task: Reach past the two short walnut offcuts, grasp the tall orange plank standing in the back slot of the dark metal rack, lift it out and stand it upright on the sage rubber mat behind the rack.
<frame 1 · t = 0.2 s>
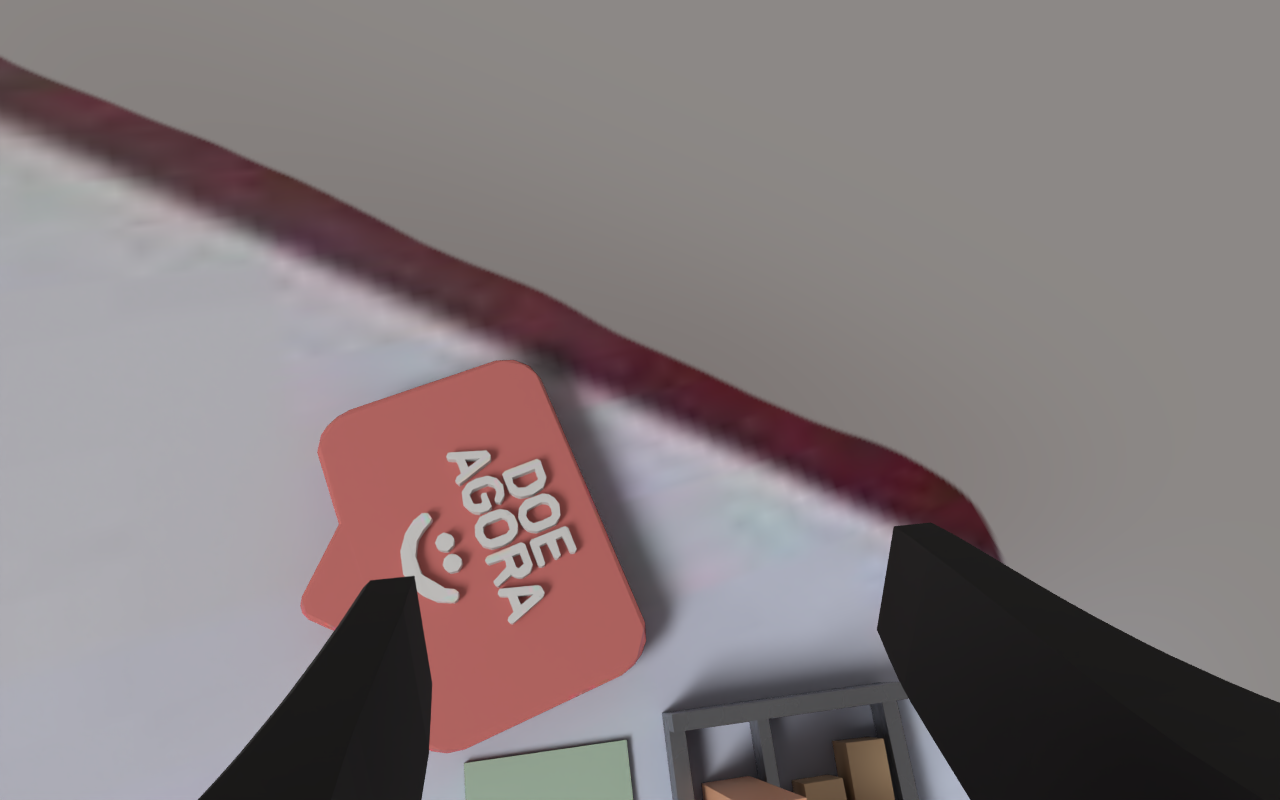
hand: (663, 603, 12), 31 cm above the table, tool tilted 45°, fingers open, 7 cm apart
plaque: (459, 559, 42), on the table
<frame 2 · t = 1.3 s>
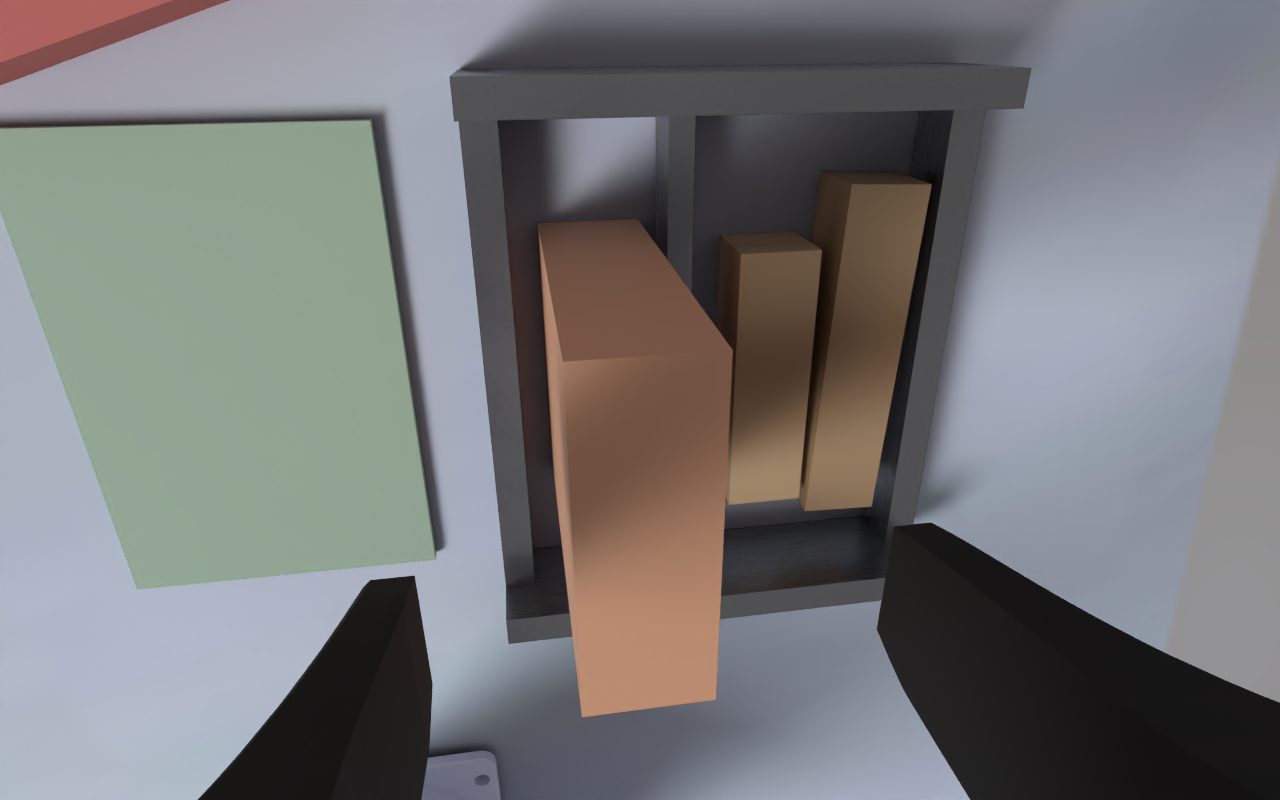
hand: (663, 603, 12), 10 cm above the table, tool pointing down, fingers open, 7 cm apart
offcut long: (830, 332, 22), resting in rack
rack: (709, 344, 21), on the table
offcut short: (747, 354, 22), resting in rack
tall orange plank: (592, 351, 21), resting in rack
mat: (244, 375, 19), on the table
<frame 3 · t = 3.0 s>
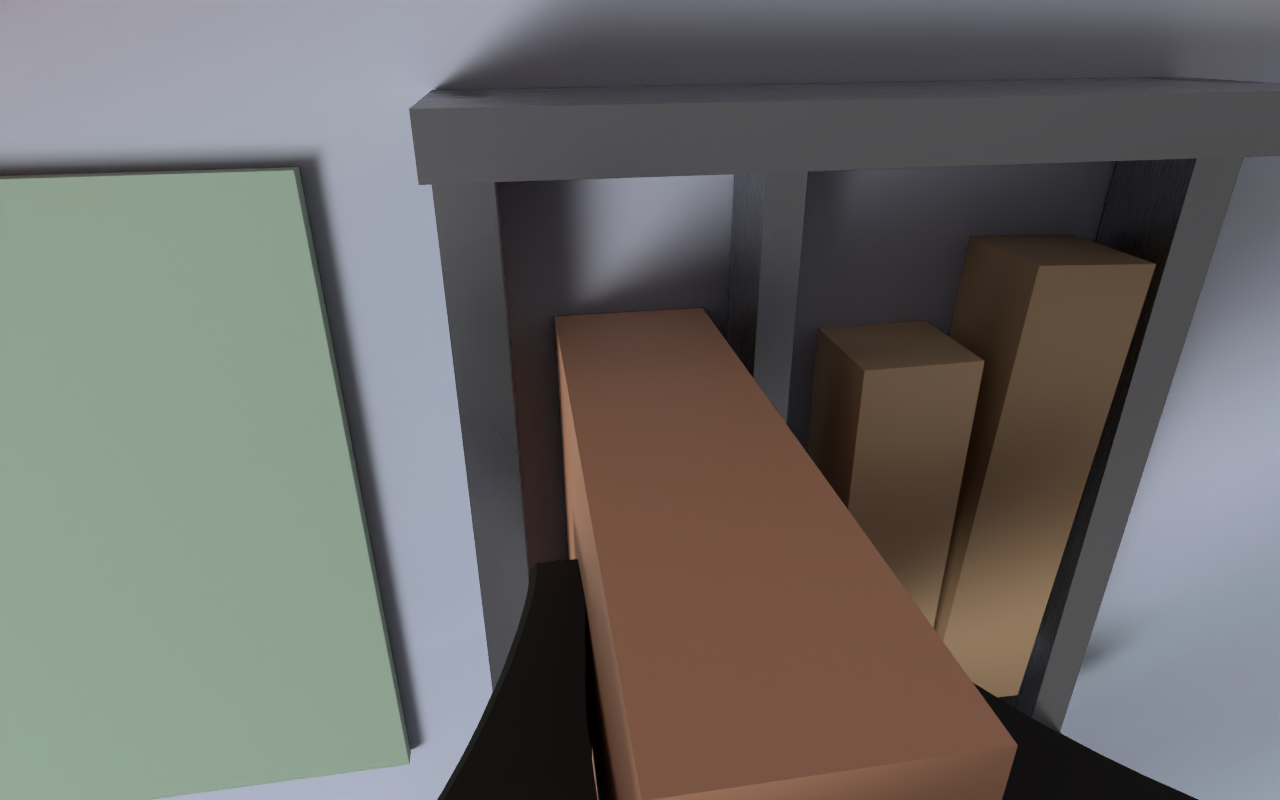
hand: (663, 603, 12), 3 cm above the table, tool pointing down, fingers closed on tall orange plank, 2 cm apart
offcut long: (960, 452, 16), resting in rack
rack: (796, 475, 15), on the table
offcut short: (846, 483, 15), resting in rack
tall orange plank: (631, 489, 14), resting in rack, touching gripper
mat: (122, 537, 13), on the table
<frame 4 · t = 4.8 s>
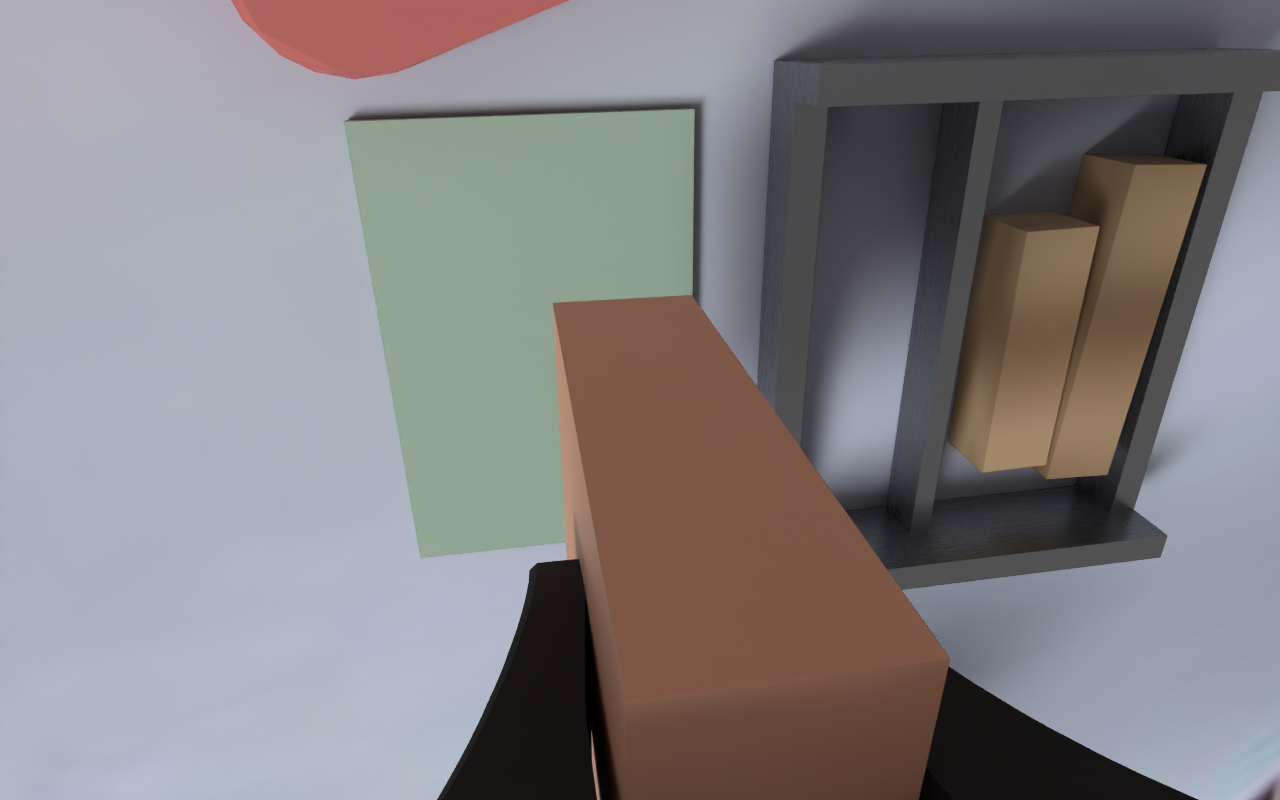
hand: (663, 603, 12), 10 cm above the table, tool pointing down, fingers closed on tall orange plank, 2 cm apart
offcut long: (1067, 309, 23), resting in rack
rack: (961, 320, 22), on the table
offcut short: (990, 329, 23), resting in rack
tall orange plank: (625, 468, 15), point 6 cm above the table, touching gripper
mat: (543, 352, 21), on the table
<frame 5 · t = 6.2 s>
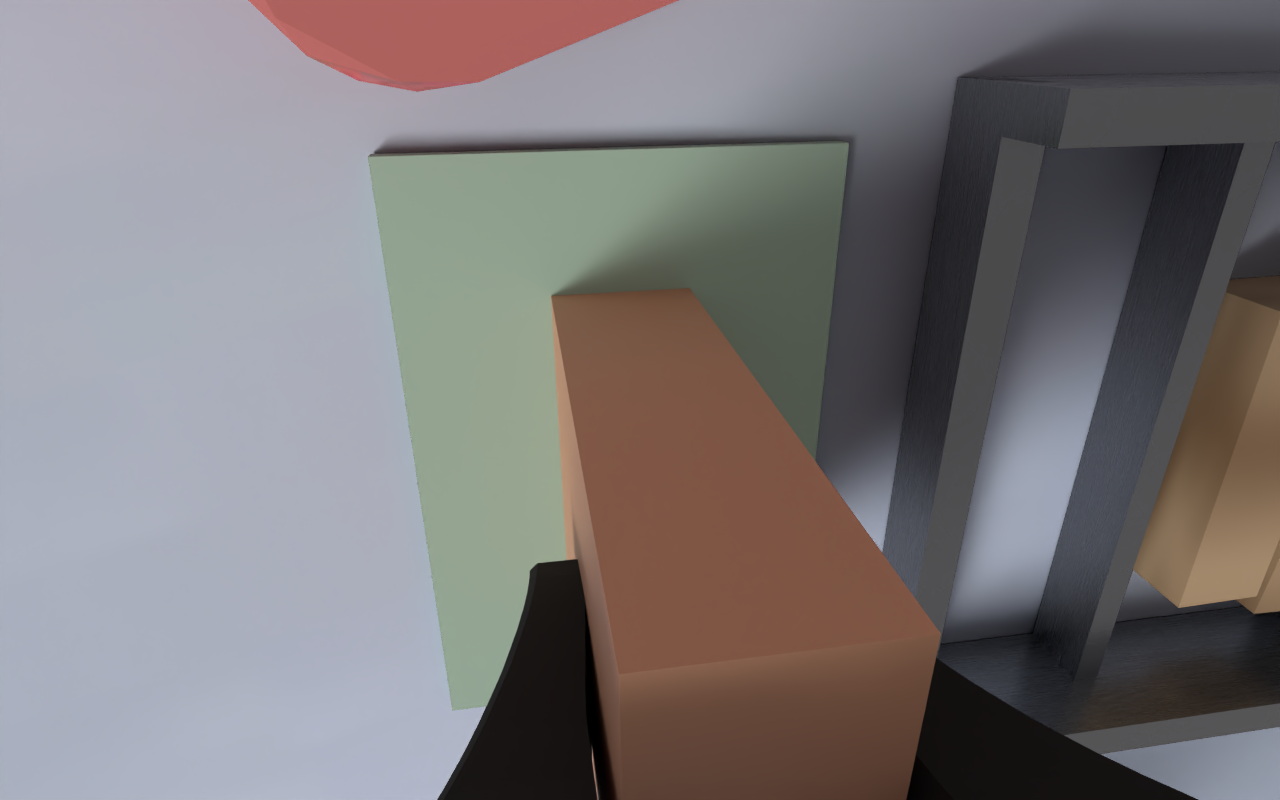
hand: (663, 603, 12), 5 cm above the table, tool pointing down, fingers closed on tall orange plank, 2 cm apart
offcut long: (1279, 396, 18), resting in rack
rack: (1153, 411, 17), on the table
offcut short: (1183, 421, 18), resting in rack
tall orange plank: (624, 461, 15), resting on mat, touching gripper
mat: (622, 456, 16), on the table
when the fingers open (5 cm above the table, at t = 6.7 s): tall orange plank stays where it is, resting on mat.
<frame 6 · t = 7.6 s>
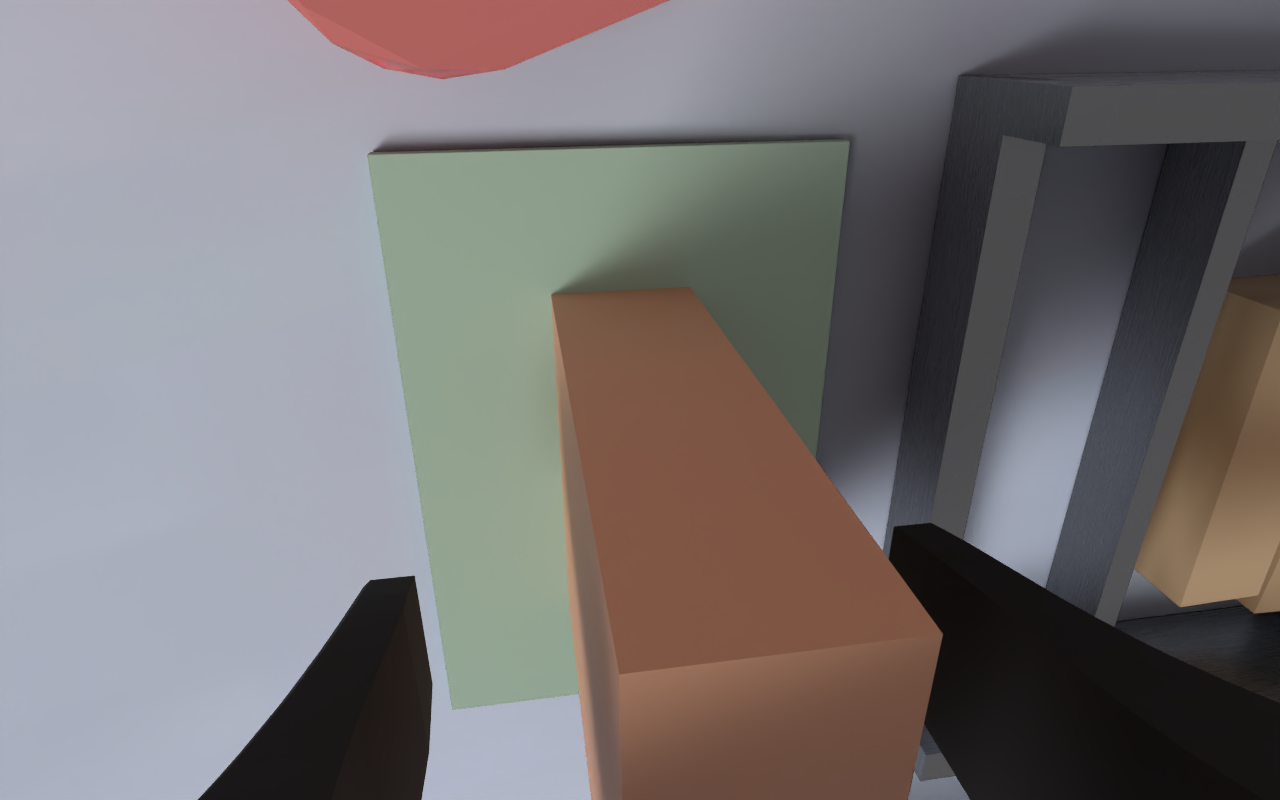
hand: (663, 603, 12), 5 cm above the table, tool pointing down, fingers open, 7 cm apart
rack: (1154, 410, 17), on the table
offcut short: (1184, 420, 18), resting in rack
tall orange plank: (624, 460, 15), resting on mat
mat: (622, 456, 16), on the table
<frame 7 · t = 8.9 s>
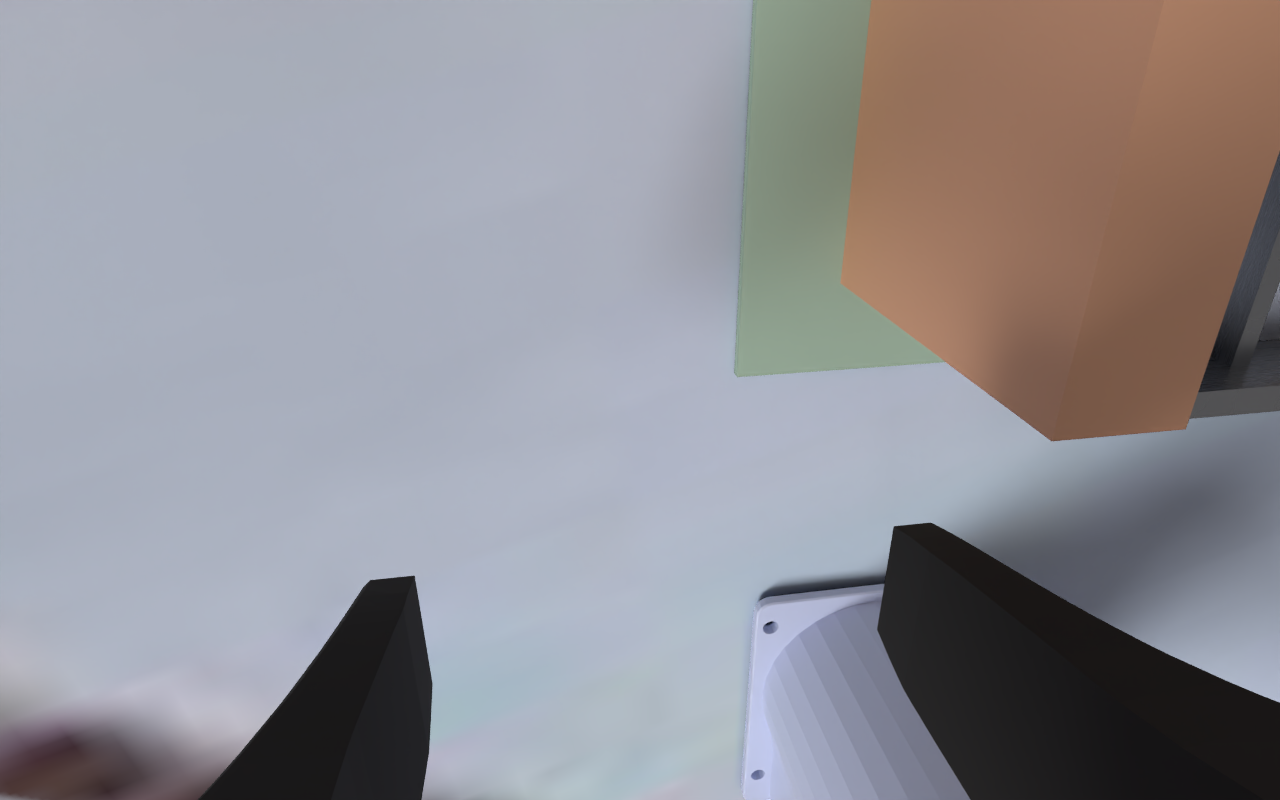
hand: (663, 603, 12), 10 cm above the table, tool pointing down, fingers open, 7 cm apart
tall orange plank: (902, 146, 19), resting on mat
mat: (896, 147, 20), on the table
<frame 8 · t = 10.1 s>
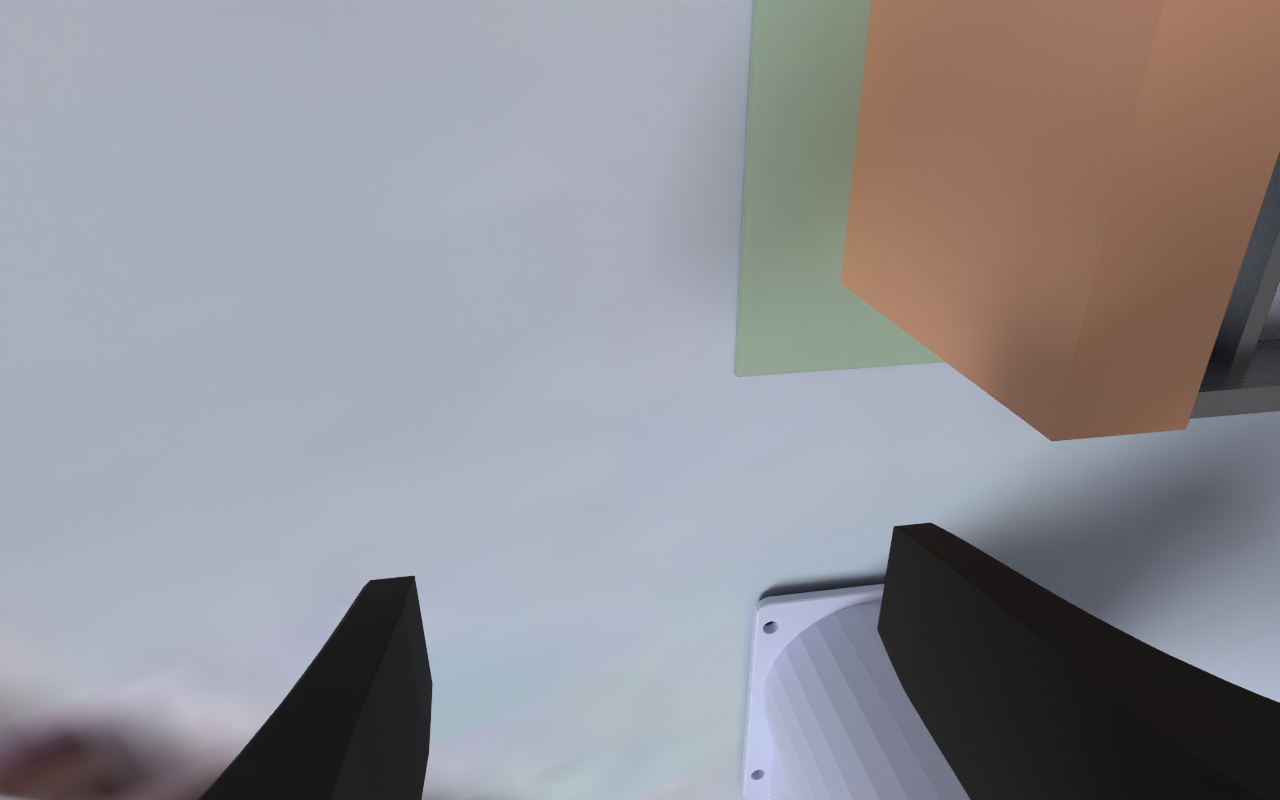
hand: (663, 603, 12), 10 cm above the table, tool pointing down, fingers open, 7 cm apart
tall orange plank: (902, 146, 19), resting on mat
mat: (896, 147, 20), on the table
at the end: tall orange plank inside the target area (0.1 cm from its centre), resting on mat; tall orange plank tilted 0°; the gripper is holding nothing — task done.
